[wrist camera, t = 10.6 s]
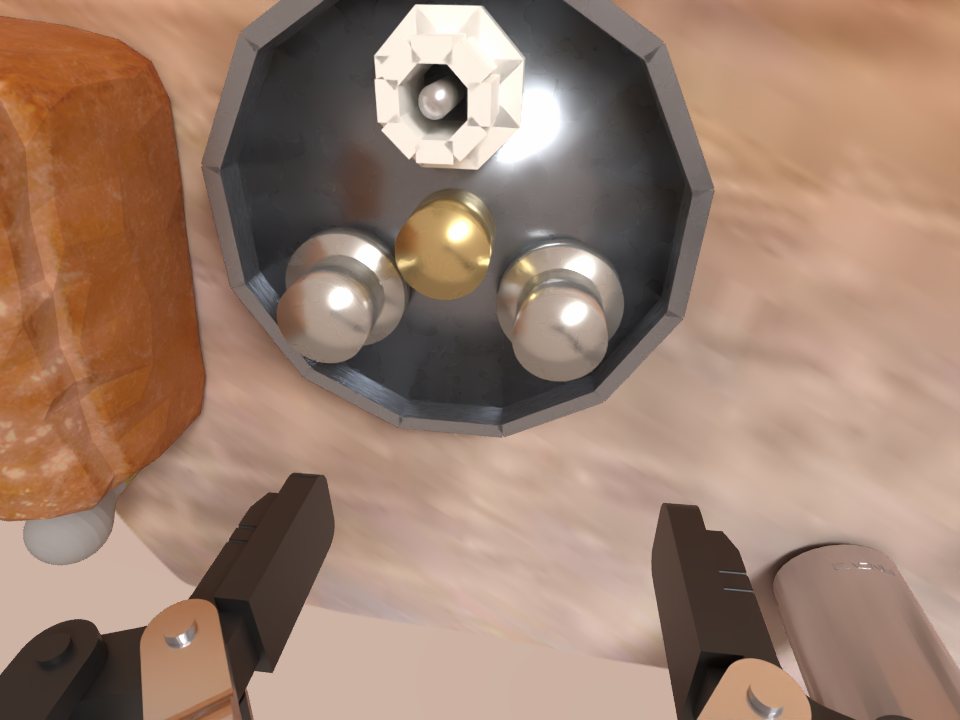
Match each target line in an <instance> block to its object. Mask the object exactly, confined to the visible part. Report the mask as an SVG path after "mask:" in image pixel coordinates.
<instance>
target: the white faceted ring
mask: <svg viewBox="0 0 960 720" xmlns="http://www.w3.org/2000/svg"><path fill="white" fill-rule="evenodd" d="M374 59H375V73H376V79H374V80H375V93H376V106H377V120H378V122H379V123H380V124H381V125H382V126H383V127H384V128H383V129H382V130H381V131H382V132H383V133H384V134H385V135H386V136H387V137H388V138H389V139H390V140H391V141H392V142H393V143H394V144H395V145H396V146H397V147H398V148H399V149H400V151H401V152H402V153H403V154H404V155H405V156H406V157H407V158H408V159H410V158H411V157H412V158H413V159H414V160H415V161H416V163H418V164H419V165H420V166H421V167H432V168H454V169H475V170H478V169H479V168H480V167H481V166H482V165H483V164H484V163H485V162H486V161H487V160H488V159H489V158H490V157H491V156H492V155H493V154H494V153H495V152H496V151H497V150H498V149H499V148H500V147H501V146H502V145H503V144H504V143H505V142H506V141H507V140H508V139H509V138H510V137H511V136H512V135H514V134H515V133H516V132H517V131H518V130H519V129H520V127H521V124H522V111H523V92H524V74H525V57H524V56H523V54H522V53H521V52H520V51H519V49H518V48H517V47H516V46H515V44H514V43H513V42H512V41H511V40H510V38H509V37H508V36H507V35H506V33H505V32H504V31H503V30H502V28H501V27H500V26H499V25H498V23H497V22H496V21H495V20H494V18H493V17H492V16H491V15H490V13H489V12H488V11H487V10H486V8H485V7H484V6H467V5H417V4H415V6H414V7H413V8H412V9H411V11H410V12H409V13H408V14H407V15H406V17H405V18H404V19H403V20H402V22H401V23H400V24H399V25H398V27H397V28H396V29H395V30H394V32H393V33H392V34H391V35H390V37H389V38H388V39H387V40H386V42H385V43H384V44H383V45H382V47H381V48H380V49H379V50H378V52H377V53H376V54H375V55H374ZM433 64H447V65H448V66H449V67H450V68H451V70H452V71H453V72H454V73H455V74H456V75H457V76H458V78H459V79H460V80H461V81H462V82H463V83H464V85H465V86H466V87H467V88H468V119H467V120H466V121H451V120H441V119H437V120H432V119H429V118H427V117H426V116H424V115H423V113H422V112H421V110H420V108H419V104H418V98H419V94H420V92H421V91H422V89H423V88H425V87H424V74H425V73H426V72H427V71H428V70H429V68H430V67H431V66H432V65H433Z"/></svg>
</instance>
